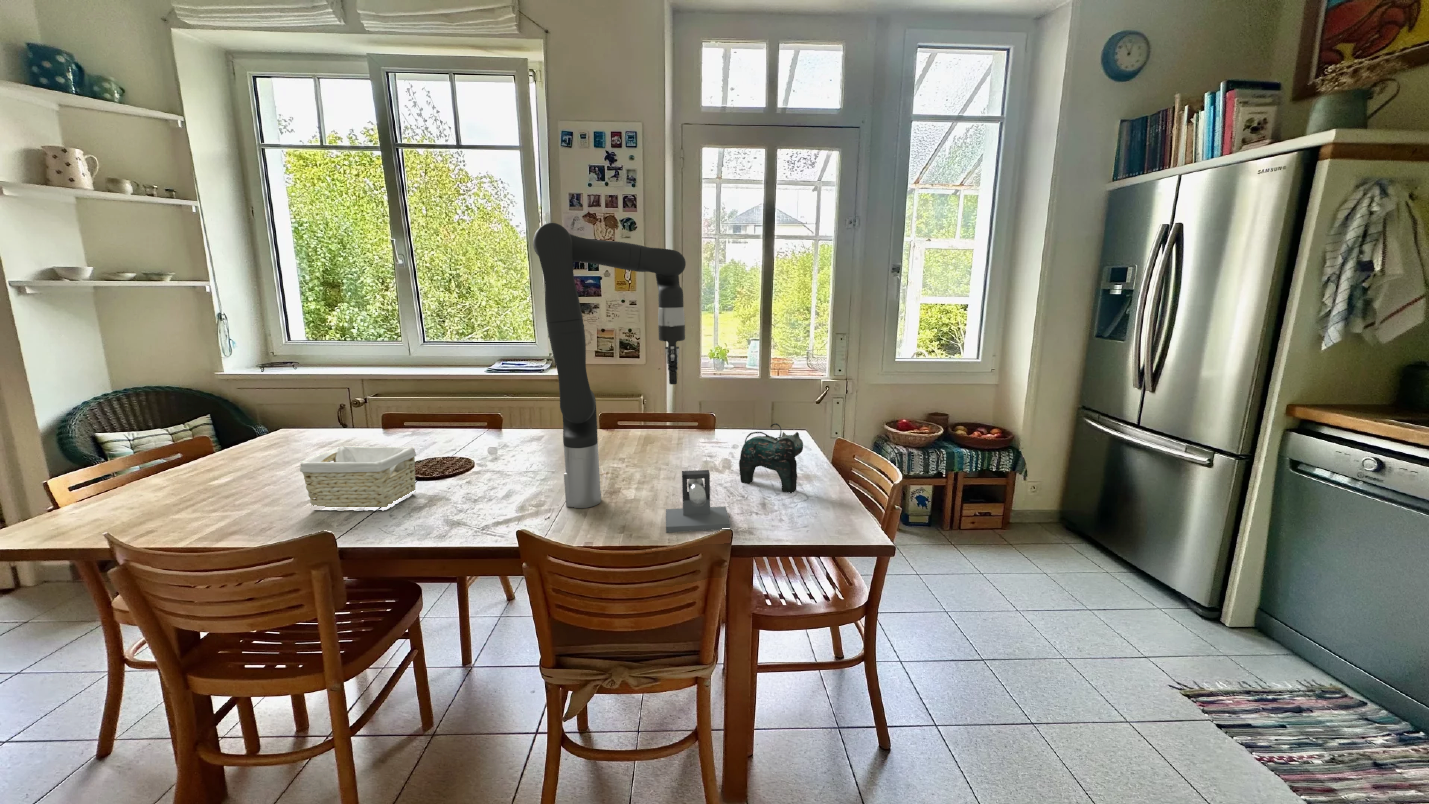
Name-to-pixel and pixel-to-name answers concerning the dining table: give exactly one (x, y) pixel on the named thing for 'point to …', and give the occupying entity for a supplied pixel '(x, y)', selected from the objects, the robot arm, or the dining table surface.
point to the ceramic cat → (771, 457)
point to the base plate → (696, 518)
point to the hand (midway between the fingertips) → (673, 383)
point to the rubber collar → (695, 475)
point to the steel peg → (696, 492)
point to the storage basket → (359, 476)
